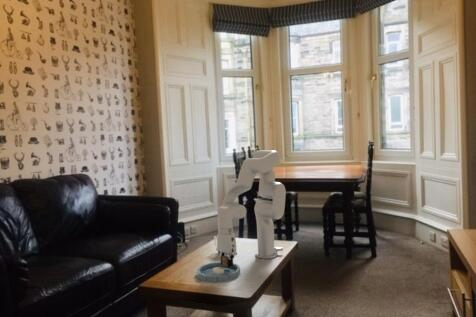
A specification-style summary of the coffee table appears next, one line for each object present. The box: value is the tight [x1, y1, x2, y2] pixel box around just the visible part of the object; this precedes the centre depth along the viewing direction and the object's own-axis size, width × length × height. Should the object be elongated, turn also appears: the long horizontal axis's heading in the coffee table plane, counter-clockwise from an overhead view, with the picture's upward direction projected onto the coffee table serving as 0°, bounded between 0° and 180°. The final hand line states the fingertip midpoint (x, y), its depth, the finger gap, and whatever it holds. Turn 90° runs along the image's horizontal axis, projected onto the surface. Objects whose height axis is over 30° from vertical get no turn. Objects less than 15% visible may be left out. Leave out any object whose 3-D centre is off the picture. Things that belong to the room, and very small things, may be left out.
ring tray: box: [196, 261, 241, 283], centre depth 205 cm, size 21×21×3 cm
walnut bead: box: [222, 254, 231, 267], centre depth 209 cm, size 4×4×5 cm
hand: (227, 265), depth 209 cm, fingers closed on walnut bead, 4 cm apart
